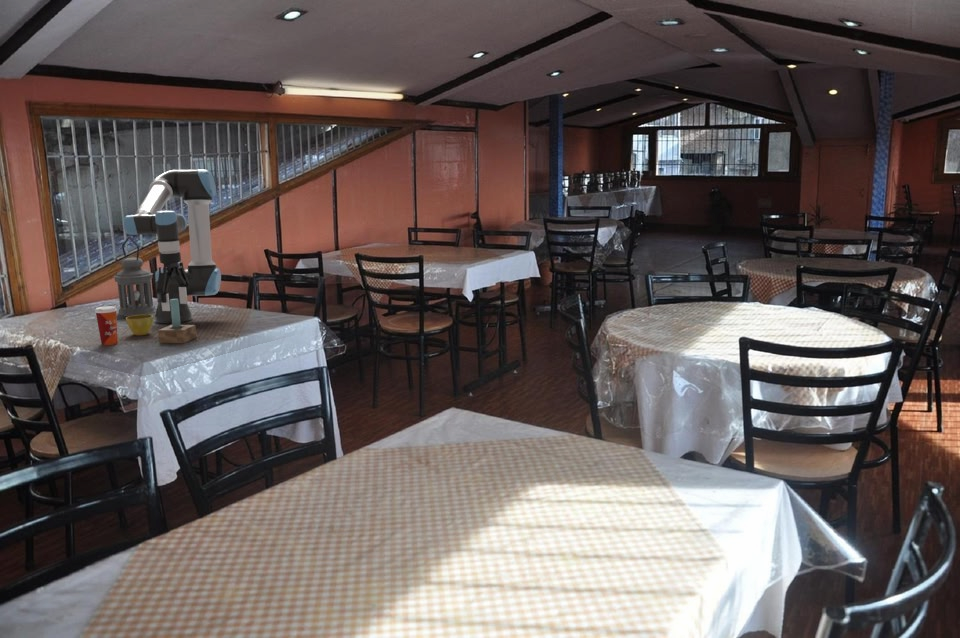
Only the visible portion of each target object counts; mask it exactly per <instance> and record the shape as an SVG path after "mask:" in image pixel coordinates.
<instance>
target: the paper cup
mask: <svg viewBox="0 0 960 638" xmlns="http://www.w3.org/2000/svg"><path fill="white" fill-rule="evenodd" d="M117 311H118V309H117V308H116V306H114V305H113V306H112V305H111V306H110V305H109V306H108V305H107V306H100V307H99V306H98V307H96V308H95V311H94V313H95V316H96V321H97V327H98V332H99V338H100V342H101V345H102V346H113V345H117V344H118V343H119V341H118V319H117V318H118V317H117Z"/></svg>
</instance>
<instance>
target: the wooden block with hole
mask: <svg viewBox="0 0 960 638" xmlns="http://www.w3.org/2000/svg"><path fill="white" fill-rule="evenodd" d="M157 334H158V343H159V344H186V343H187V342H189V341H192V340H194V339H196V338H197V329H196V324H181V328H180V329H173V326H172V324H170V325H168V326H165V327H163V328H160V329H158V330H157Z"/></svg>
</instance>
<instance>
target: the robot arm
mask: <svg viewBox="0 0 960 638" xmlns="http://www.w3.org/2000/svg"><path fill="white" fill-rule="evenodd" d="M216 191H217V188H216V183H215V179H214V176H213V174H212V172H211V171H210V170H209V169H203V168H201V169H200V168H197V169H193V168H192V169H172V170H168V171H165V172H163V173H162V174H160V175H158V176H156V178H154V179H153V180H152V181H151V183H150V185H149V187H148V193H147V194H146V196H145V198H144V199H143V201H142V202H141V204H140V205H139V207H138V208H137V210H136V212H135V214H129V215H125V217H124V218H123V229H124V231H125V233H126V234H127V235H133V236H134V235H136V236H138V235H143V236H144V235H156V236H157V246H158V252H159V254H158V256H159V262H160V264H163V266H161V267H160V266H159V267H158V269H157V271H155V272H154V273H155V289H156V299H157V307H156V312H155V316H154V320H155V321H154V322H155V323H157V324H172V316H171V305H170V299H178V301H179V312H180V322H181V323H184V322H188V321H191V320H192V319H193V313H192V311H191V309H190V307H189V304H188V297H197V296H204V297H205V296H206V297H207V296H214V295H216V294H218V292H219V290H220V288H221V283H222V272H221V269H220V268H218V267H217V264H216V263H215V261H214V260H213V257H212V255H213V254H212V253H213V252H212V239H211V223H210V221H211V220H210V204H211V203H212V202H213V198H214V197H215V196H216V195H217V193H216ZM172 198H183V202H184V203H185V204H186V205H187V215H188V221H187V219H186V217H185V216H184V215H183V214H181V213H177V212H176V211H175V210H163V207H164V206H165V205H166V203H167V202H168V201H170V200H171V199H172ZM187 227H188V231H189V248H190V249H189V251H190V262H189V263H188V264H187V269H185V267H184V263H183V262H182V258H181V252H180V251H181V247H180V244H181V243H180V237H179V234H180V233H182V232H184V231H185V230H186V228H187Z"/></svg>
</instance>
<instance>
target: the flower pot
mask: <svg viewBox="0 0 960 638" xmlns="http://www.w3.org/2000/svg"><path fill="white" fill-rule="evenodd" d="M125 321H126V323H127V325H128V328H129V330H130V331H131V332H132V334H133V335H134V336H146V335H149V333H150V331H151V329H152V325H153V322H154V315H152V314H147V315H135V316H125Z"/></svg>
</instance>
